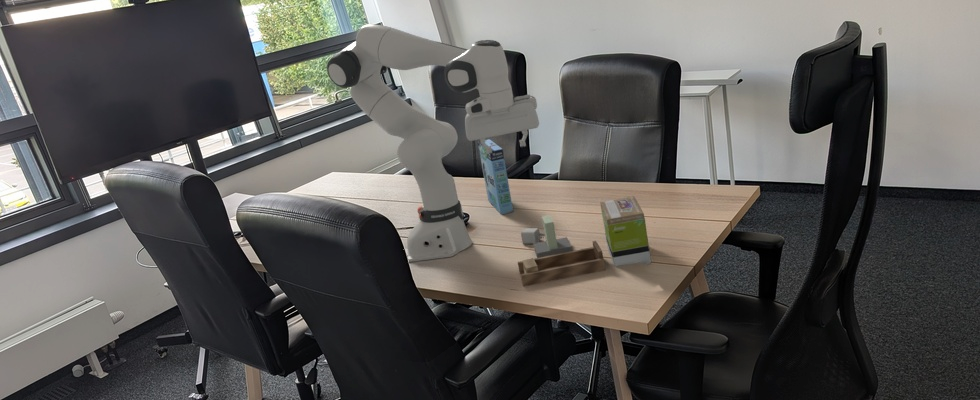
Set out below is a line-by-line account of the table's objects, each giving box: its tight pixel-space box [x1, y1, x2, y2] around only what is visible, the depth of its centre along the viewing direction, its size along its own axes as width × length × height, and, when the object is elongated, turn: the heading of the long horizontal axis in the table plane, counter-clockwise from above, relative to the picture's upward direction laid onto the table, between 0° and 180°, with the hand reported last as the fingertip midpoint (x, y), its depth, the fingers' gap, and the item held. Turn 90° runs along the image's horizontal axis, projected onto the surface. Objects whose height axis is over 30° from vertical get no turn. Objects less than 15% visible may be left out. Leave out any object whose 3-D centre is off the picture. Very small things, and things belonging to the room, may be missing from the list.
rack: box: [517, 240, 606, 287], centre depth 200 cm, size 22×10×6 cm, turn 93°
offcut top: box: [521, 257, 538, 273], centre depth 199 cm, size 3×6×2 cm, turn 7°
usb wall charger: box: [520, 227, 545, 245], centre depth 227 cm, size 4×7×4 cm, turn 63°
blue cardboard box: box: [477, 138, 514, 215], centre depth 265 cm, size 20×5×23 cm, turn 12°
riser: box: [533, 236, 573, 258], centre depth 214 cm, size 10×8×3 cm
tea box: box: [600, 195, 652, 267], centre depth 202 cm, size 15×10×15 cm, turn 178°
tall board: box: [541, 214, 558, 250], centre depth 213 cm, size 2×7×8 cm, turn 3°
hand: (506, 149), depth 205 cm, fingers open, 8 cm apart
